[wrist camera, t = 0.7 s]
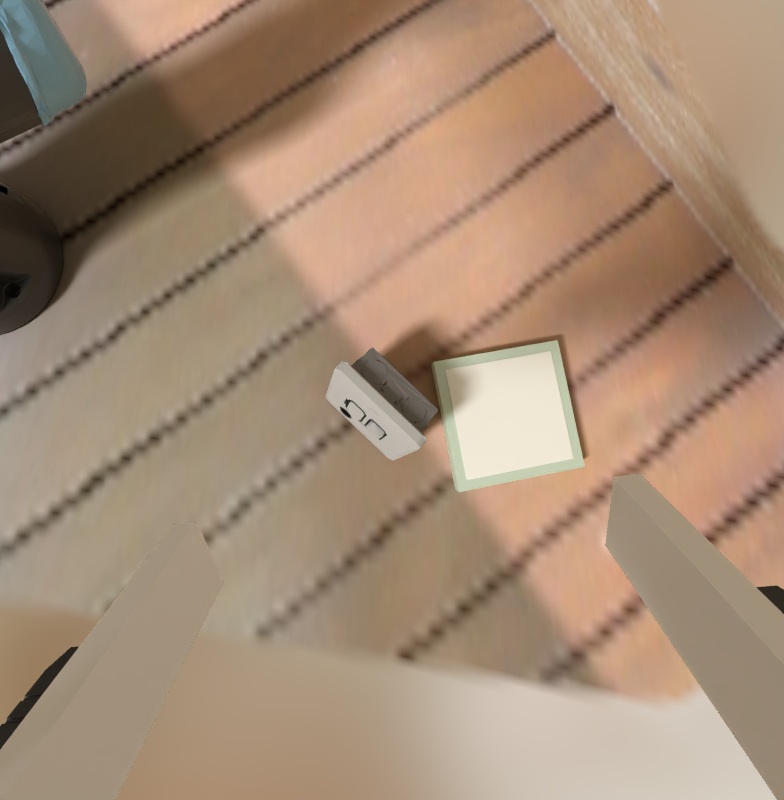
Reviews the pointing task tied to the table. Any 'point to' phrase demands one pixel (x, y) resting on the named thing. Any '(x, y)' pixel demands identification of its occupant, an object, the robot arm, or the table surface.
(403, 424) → the electrical switch
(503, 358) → the board
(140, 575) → the robot arm
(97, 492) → the table surface
